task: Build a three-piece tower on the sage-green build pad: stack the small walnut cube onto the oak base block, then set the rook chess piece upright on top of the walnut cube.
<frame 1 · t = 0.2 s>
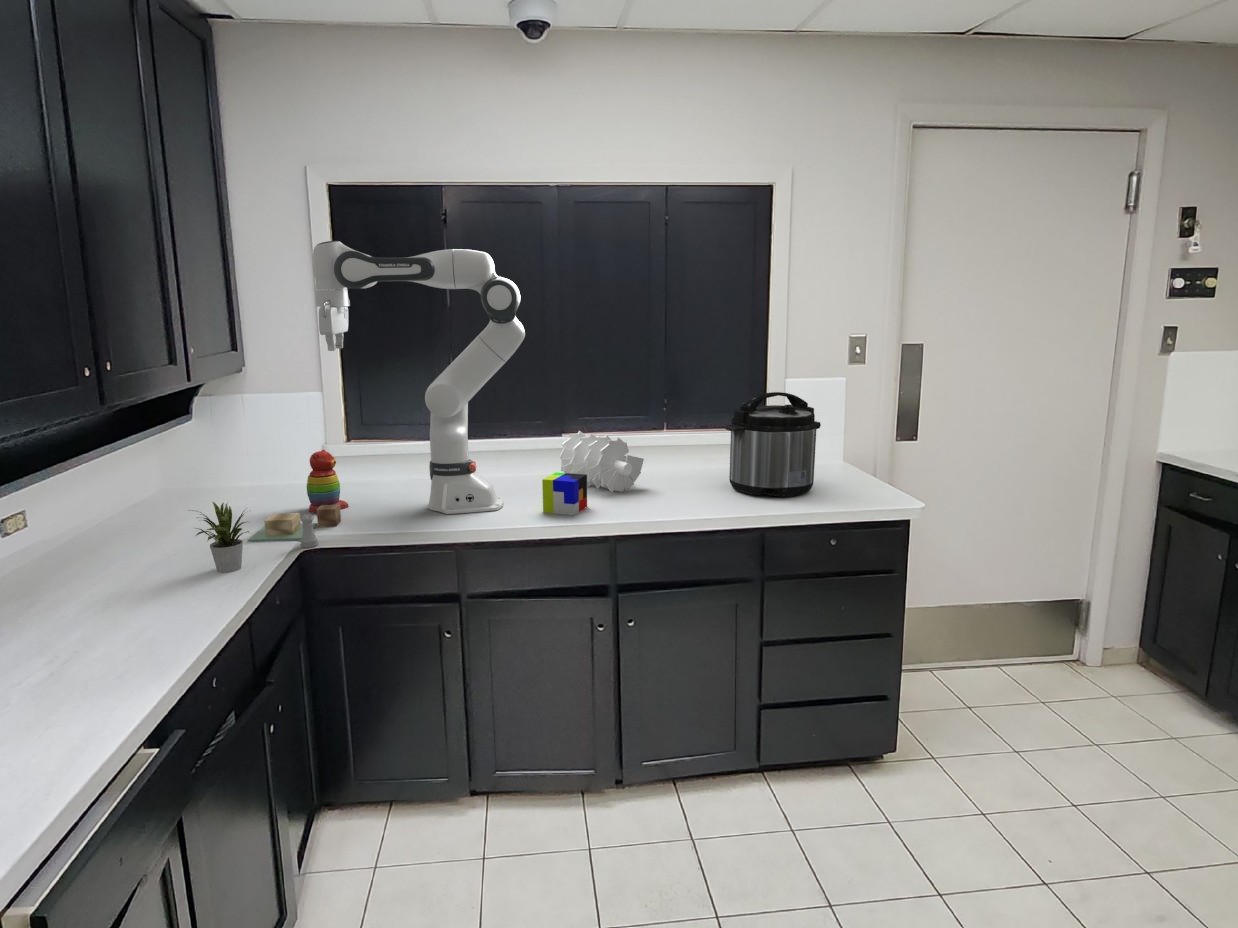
hand: (335, 349, 234), 47 cm above the counter, fingers open, 8 cm apart
puzzle toy: (565, 510, 243), on the counter
oak base block: (283, 531, 220), point 1 cm above the counter, touching build pad
spiral staircase: (600, 488, 270), on the counter
pressure cooker: (769, 489, 267), on the counter
walnut cube: (329, 524, 229), on the counter
house plant: (224, 568, 192), on the counter
stacking bear: (326, 510, 244), on the counter
build pad: (283, 533, 220), on the counter
rook chess piece: (309, 546, 209), on the counter
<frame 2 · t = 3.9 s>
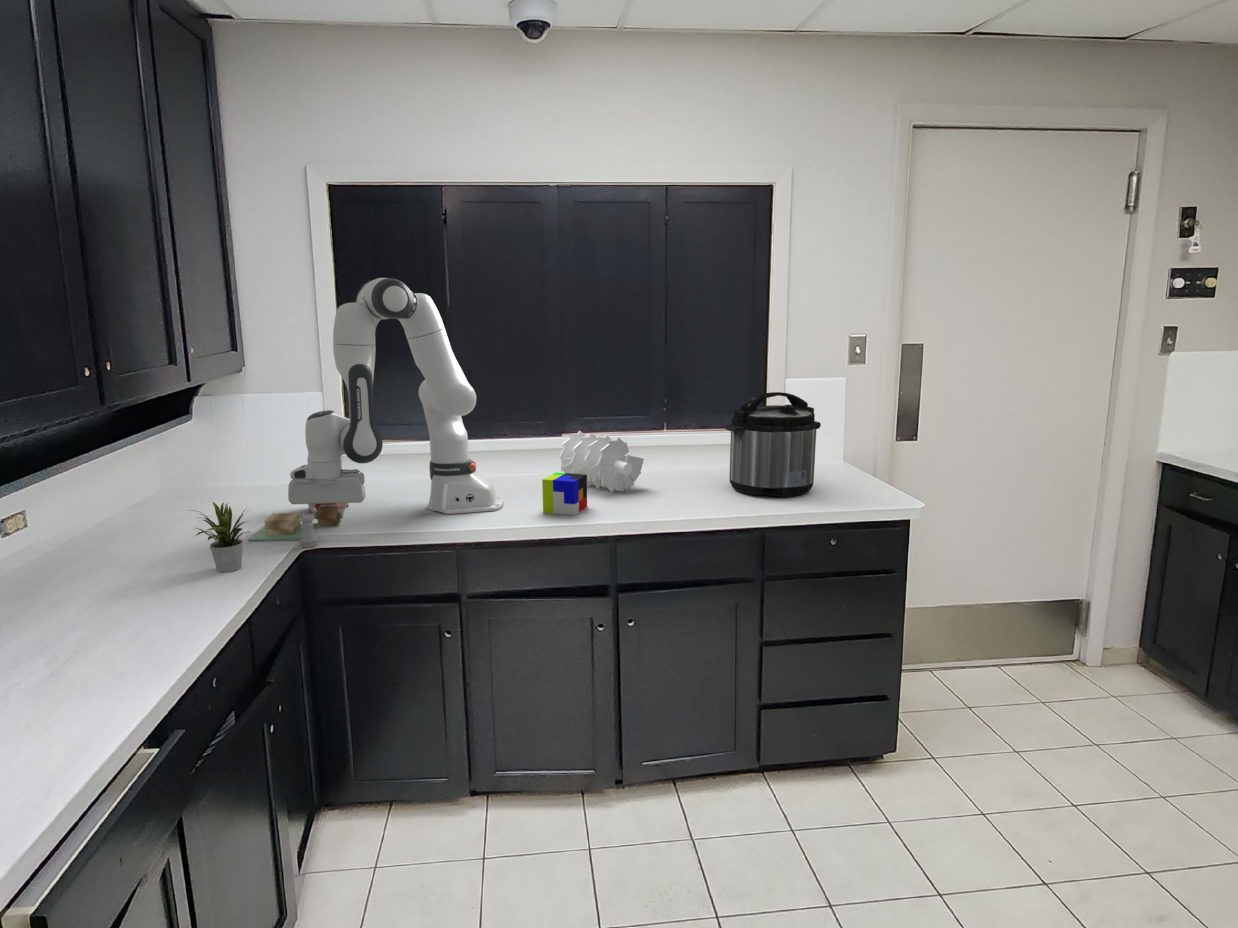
hand: (329, 518, 228), 2 cm above the counter, fingers closed on walnut cube, 5 cm apart
walnut cube: (329, 524, 229), on the counter, touching gripper
everything else where it was.
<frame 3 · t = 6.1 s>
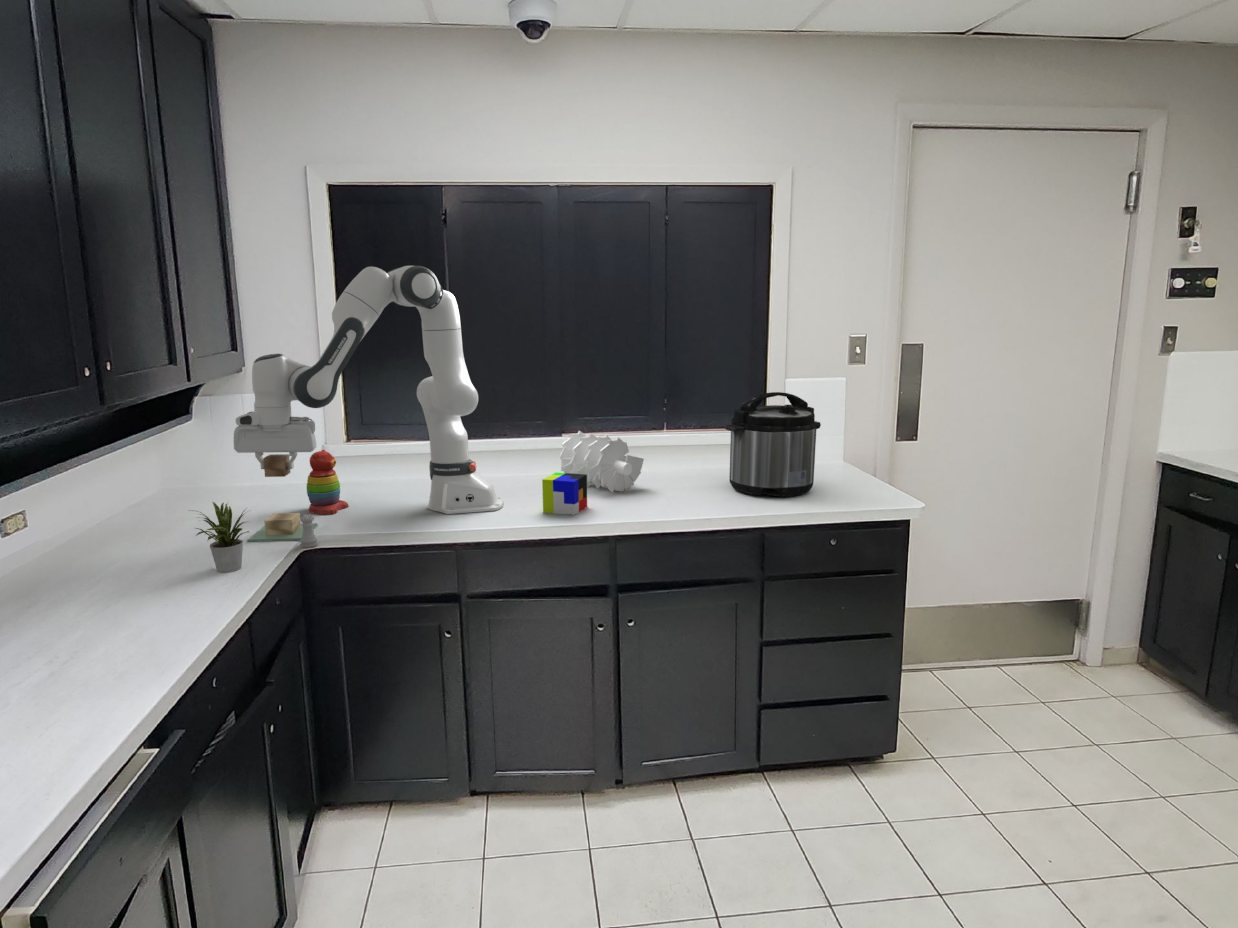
hand: (277, 468, 216), 18 cm above the counter, fingers closed on walnut cube, 5 cm apart
walnut cube: (277, 474, 217), point 16 cm above the counter, touching gripper
everything else where it was.
when the fingers open (7 cm above the counter, at t = 8.4 s): walnut cube drops 1 cm, resting on oak base block.
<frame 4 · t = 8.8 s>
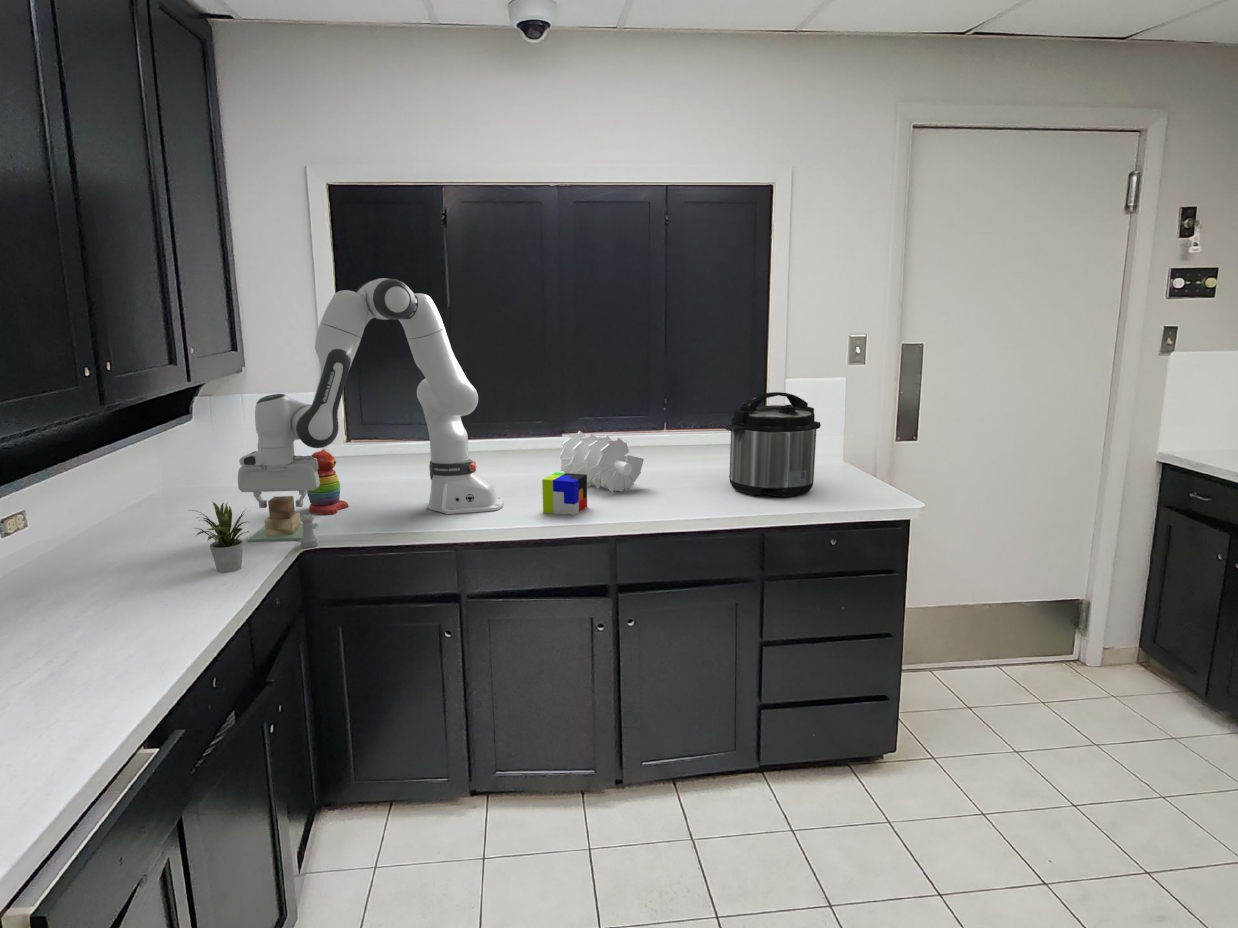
hand: (281, 507, 218), 7 cm above the counter, fingers open, 8 cm apart
oak base block: (283, 531, 220), point 1 cm above the counter, touching build pad, walnut cube
walnut cube: (282, 516, 219), point 5 cm above the counter, touching oak base block
everything else where it was.
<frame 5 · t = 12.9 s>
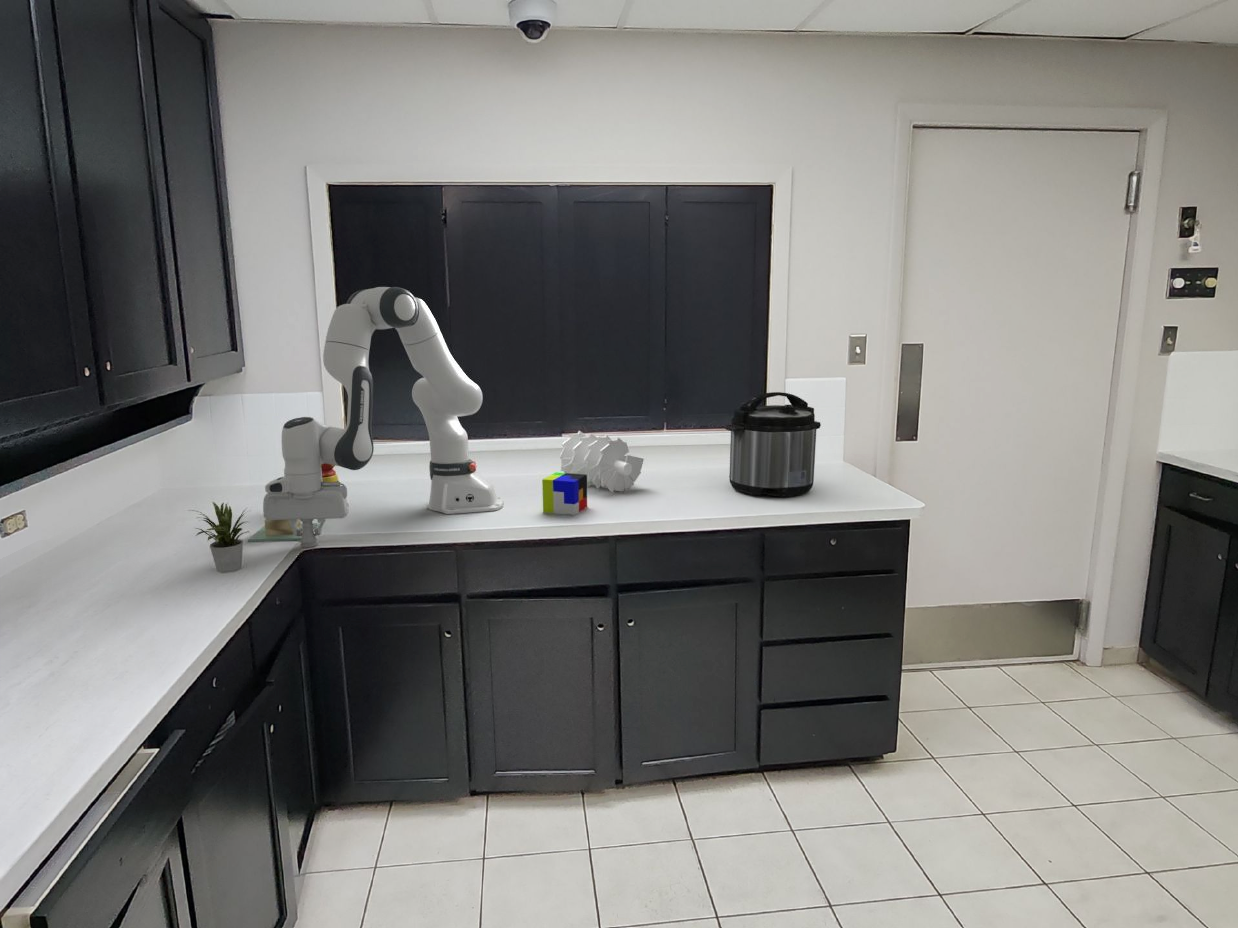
hand: (308, 535, 208), 3 cm above the counter, fingers closed on rook chess piece, 3 cm apart
rook chess piece: (309, 546, 209), on the counter, touching gripper
everything else where it was.
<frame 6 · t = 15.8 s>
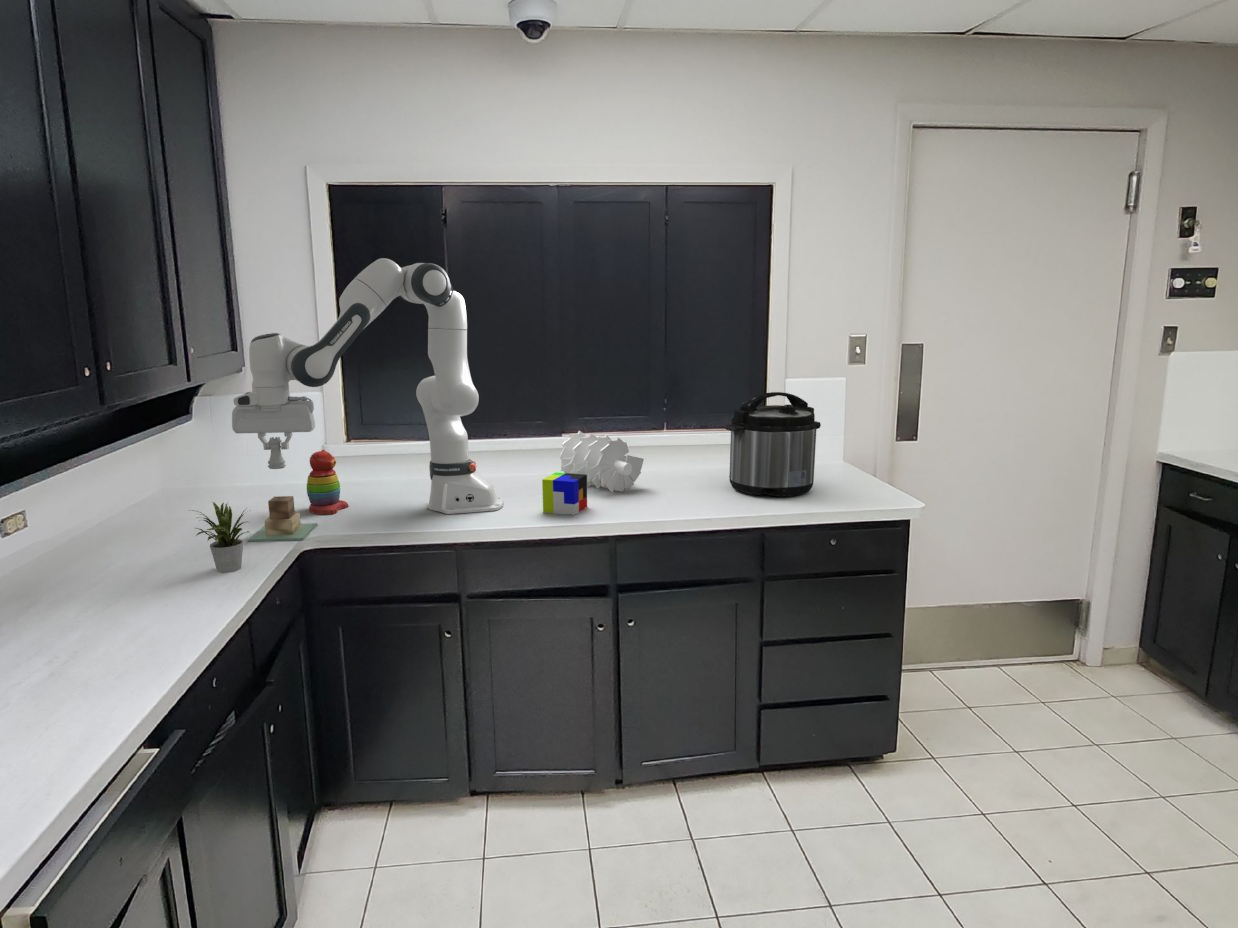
hand: (276, 449, 215), 23 cm above the counter, fingers closed on rook chess piece, 3 cm apart
rook chess piece: (277, 468, 216), point 18 cm above the counter, touching gripper
everything else where it was.
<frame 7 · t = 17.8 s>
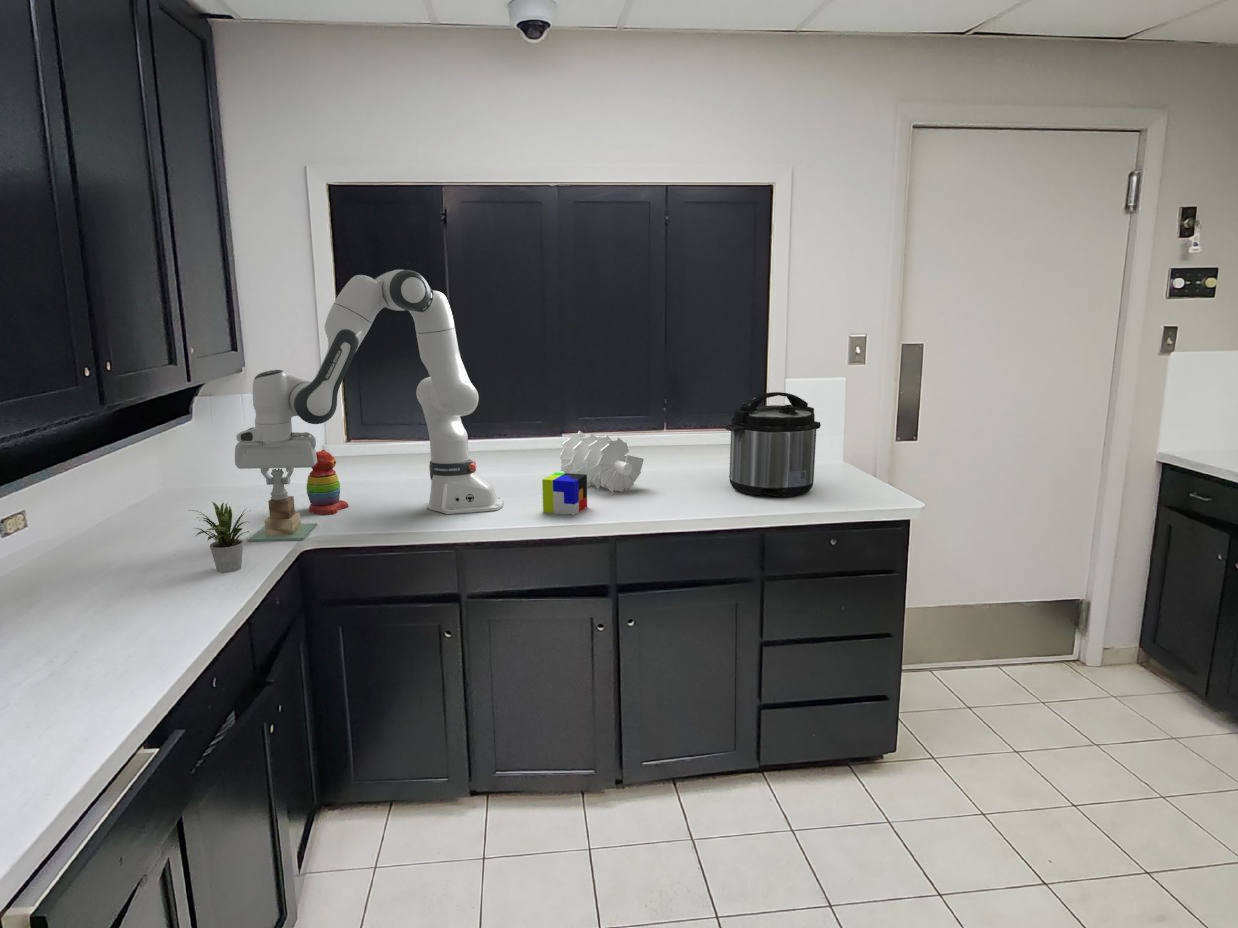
hand: (278, 484, 217), 14 cm above the counter, fingers closed on rook chess piece, 3 cm apart
walnut cube: (282, 516, 219), point 5 cm above the counter, touching oak base block, rook chess piece
rook chess piece: (279, 499, 218), point 9 cm above the counter, touching gripper, walnut cube
everything else where it was.
when the fingers open (14 cm above the counter, at t = 17.8 s): rook chess piece stays where it is, resting on walnut cube.
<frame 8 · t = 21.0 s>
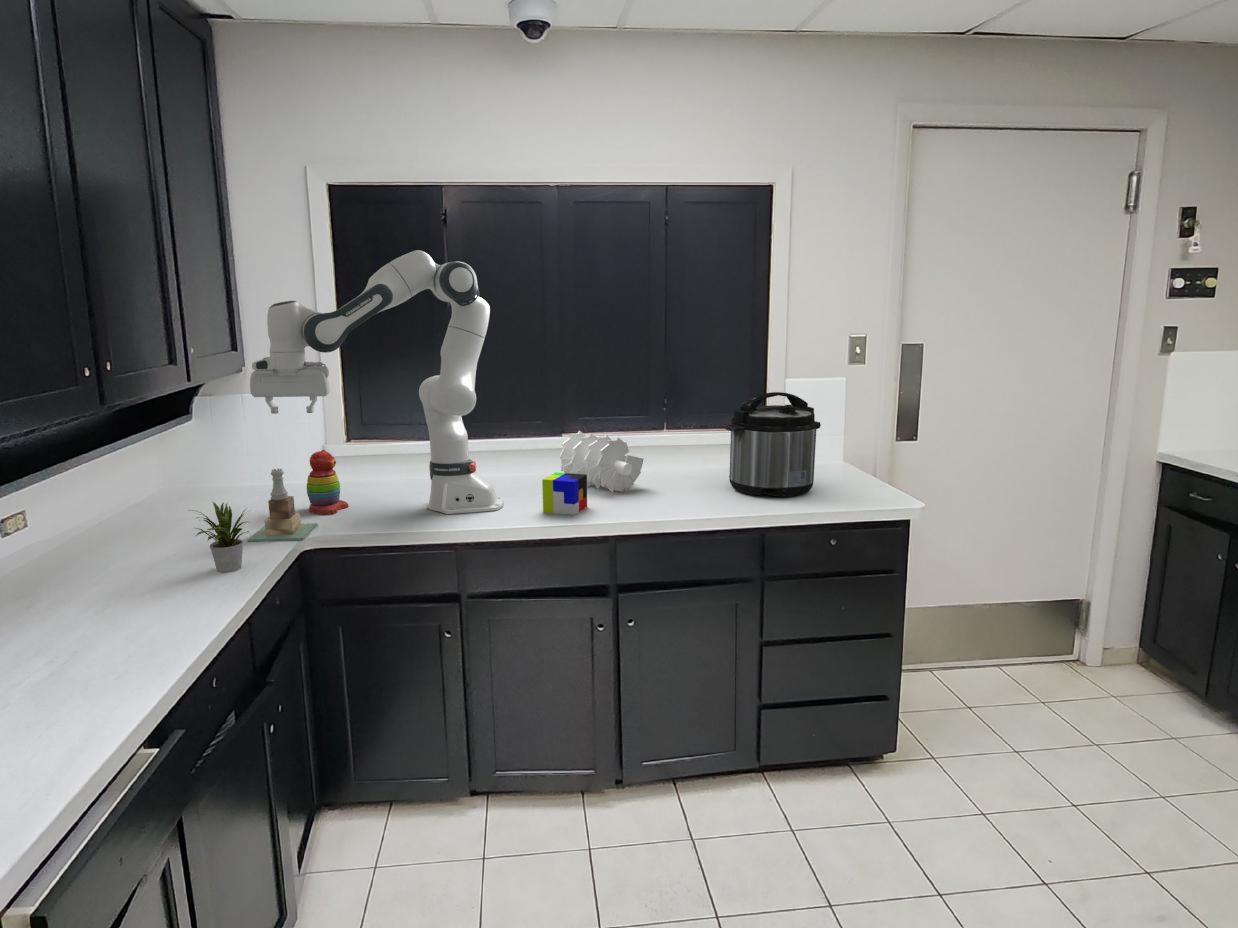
hand: (292, 413, 223), 31 cm above the counter, fingers open, 8 cm apart
rook chess piece: (279, 499, 218), point 9 cm above the counter, touching walnut cube
everything else where it was.
at the end: walnut cube 0.1 cm off-centre on the oak base block, point 4.0 cm above the oak base block's base; rook chess piece 0.3 cm off-centre on the oak base block, point 8.8 cm above the oak base block's base; rook chess piece tilted 0° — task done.
